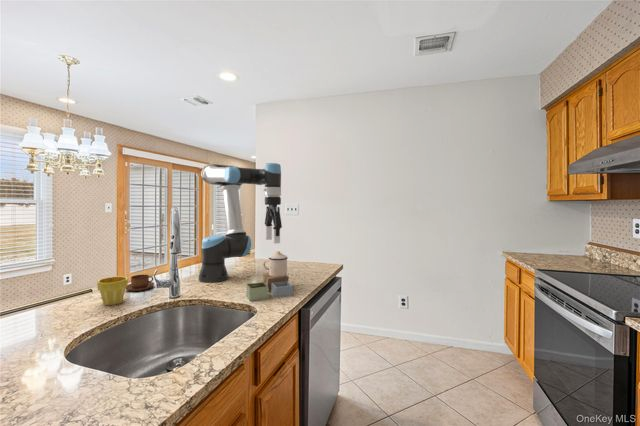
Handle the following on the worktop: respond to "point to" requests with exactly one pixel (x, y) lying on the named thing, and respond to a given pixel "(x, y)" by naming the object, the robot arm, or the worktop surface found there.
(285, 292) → the grey tub
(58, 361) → the worktop surface
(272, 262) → the teacup with lid
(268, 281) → the walnut stand
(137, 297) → the worktop surface
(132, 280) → the cup and saucer
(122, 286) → the plant pot
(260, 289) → the olive tin
